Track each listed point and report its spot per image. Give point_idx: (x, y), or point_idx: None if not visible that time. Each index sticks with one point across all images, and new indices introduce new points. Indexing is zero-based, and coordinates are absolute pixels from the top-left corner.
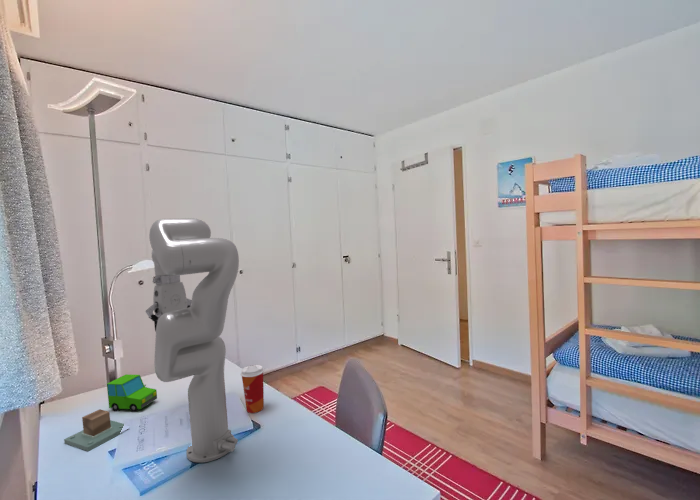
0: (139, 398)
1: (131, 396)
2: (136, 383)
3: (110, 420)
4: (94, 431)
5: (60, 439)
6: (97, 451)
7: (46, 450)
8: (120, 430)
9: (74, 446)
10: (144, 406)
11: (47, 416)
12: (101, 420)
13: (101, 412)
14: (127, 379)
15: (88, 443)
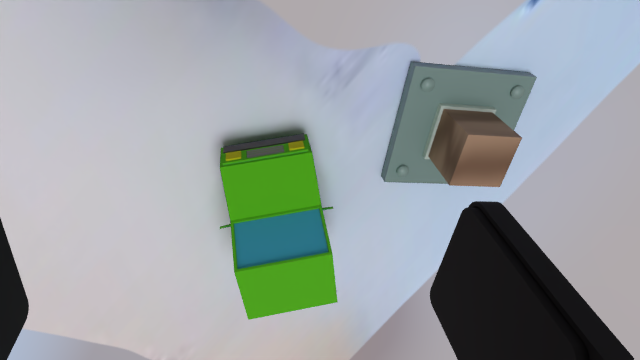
0: (306, 161)
1: (309, 196)
2: (261, 243)
3: (391, 160)
4: (495, 117)
5: (466, 206)
6: (531, 42)
7: (512, 187)
8: (444, 68)
9: None
10: (288, 137)
11: (369, 334)
12: (485, 128)
13: (473, 156)
14: (288, 273)
15: (523, 91)
